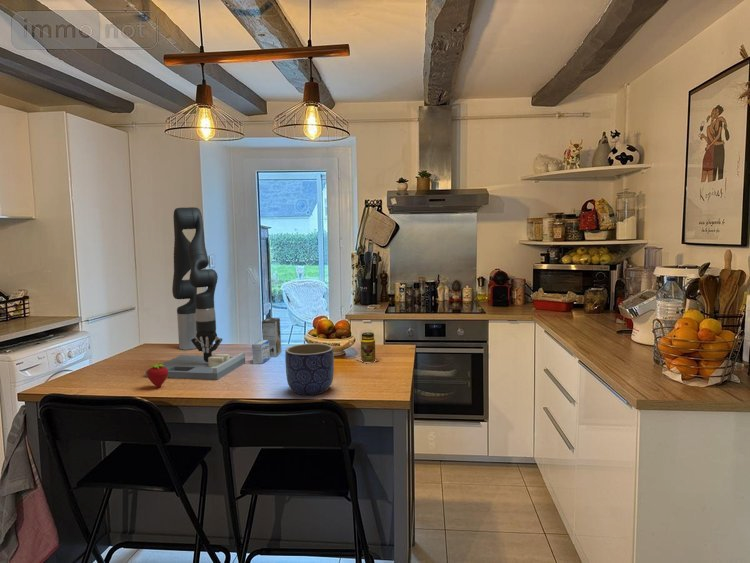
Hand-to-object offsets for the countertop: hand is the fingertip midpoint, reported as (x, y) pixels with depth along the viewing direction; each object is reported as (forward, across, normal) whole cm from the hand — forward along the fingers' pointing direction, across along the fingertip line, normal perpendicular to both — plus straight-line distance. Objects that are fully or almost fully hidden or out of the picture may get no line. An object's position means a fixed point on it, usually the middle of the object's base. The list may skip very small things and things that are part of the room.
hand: (207, 361), depth 196 cm
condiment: (+4, -61, -22) cm, 65 cm away
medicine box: (+4, -16, -15) cm, 23 cm away
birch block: (+1, -5, 0) cm, 5 cm away
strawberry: (+4, +7, +23) cm, 24 cm away
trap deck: (+4, +5, 0) cm, 6 cm away
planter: (+4, -49, +19) cm, 53 cm away
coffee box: (+4, -16, -27) cm, 32 cm away
